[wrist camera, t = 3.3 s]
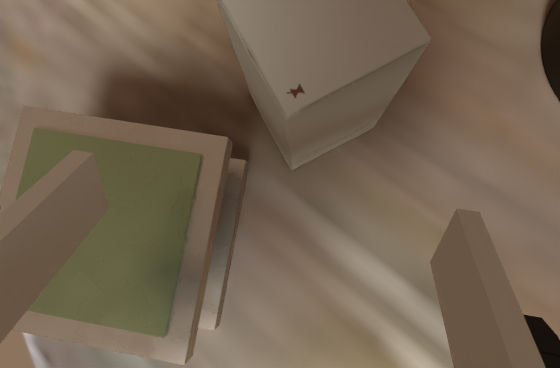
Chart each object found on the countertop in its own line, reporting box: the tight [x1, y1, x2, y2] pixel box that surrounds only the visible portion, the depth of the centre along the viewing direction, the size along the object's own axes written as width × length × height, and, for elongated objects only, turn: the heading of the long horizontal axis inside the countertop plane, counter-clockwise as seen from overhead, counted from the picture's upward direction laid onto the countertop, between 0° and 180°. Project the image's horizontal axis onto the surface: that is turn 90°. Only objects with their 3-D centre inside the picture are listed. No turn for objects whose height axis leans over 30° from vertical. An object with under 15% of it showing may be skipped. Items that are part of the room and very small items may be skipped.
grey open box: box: [0, 106, 249, 365], centre depth 23 cm, size 12×12×8 cm
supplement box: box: [217, 0, 431, 170], centre depth 22 cm, size 7×7×13 cm
